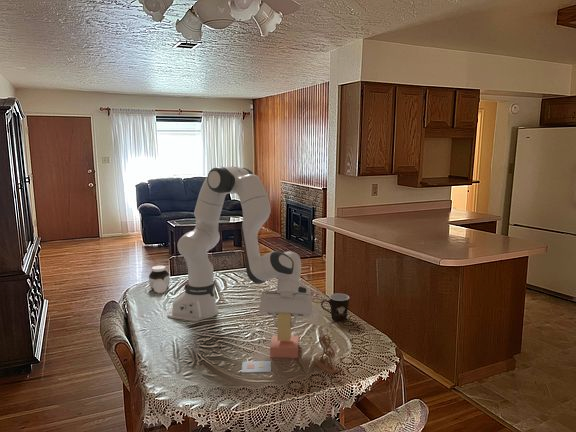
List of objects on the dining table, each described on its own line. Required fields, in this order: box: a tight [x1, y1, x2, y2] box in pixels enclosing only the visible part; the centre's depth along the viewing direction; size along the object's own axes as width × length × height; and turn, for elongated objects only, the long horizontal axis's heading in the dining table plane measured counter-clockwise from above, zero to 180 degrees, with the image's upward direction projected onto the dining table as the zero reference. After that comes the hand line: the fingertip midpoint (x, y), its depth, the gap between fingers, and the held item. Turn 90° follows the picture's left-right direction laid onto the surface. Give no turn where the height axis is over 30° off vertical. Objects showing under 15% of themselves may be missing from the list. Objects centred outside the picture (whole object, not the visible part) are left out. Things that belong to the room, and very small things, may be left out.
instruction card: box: [240, 360, 272, 374], centre depth 149 cm, size 10×7×1 cm
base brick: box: [269, 334, 300, 359], centre depth 161 cm, size 10×10×4 cm
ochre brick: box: [276, 313, 292, 341], centre depth 159 cm, size 4×4×9 cm
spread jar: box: [148, 265, 171, 294], centre depth 225 cm, size 12×11×12 cm
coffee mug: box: [320, 293, 350, 323], centre depth 189 cm, size 12×9×10 cm
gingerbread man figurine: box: [314, 334, 340, 376], centre depth 148 cm, size 9×4×12 cm, turn 33°
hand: (284, 326), depth 159 cm, fingers closed on ochre brick, 4 cm apart
